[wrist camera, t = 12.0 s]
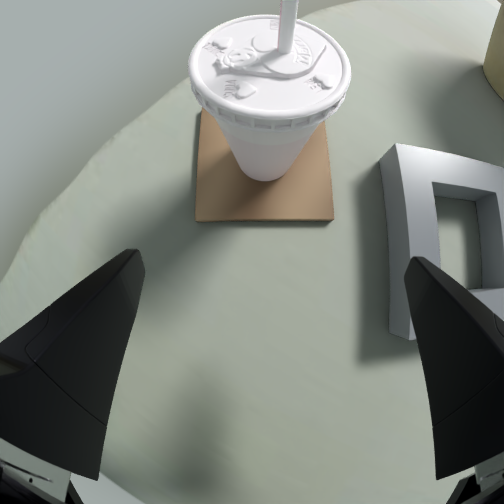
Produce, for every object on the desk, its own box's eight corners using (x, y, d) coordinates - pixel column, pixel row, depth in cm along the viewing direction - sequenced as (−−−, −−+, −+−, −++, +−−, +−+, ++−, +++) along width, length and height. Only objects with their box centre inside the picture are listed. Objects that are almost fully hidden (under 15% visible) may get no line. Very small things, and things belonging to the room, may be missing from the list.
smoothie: (325, 185, 18) (434, 24, 4) (233, 214, 18) (174, 43, 4) (291, 109, 18) (321, -62, 5) (206, 132, 18) (148, -42, 4)
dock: (388, 332, 17) (409, 340, 14) (378, 160, 19) (395, 143, 16) (496, 313, 17) (518, 315, 14) (485, 178, 18) (505, 168, 15)
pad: (196, 221, 18) (195, 220, 18) (203, 109, 19) (202, 105, 19) (331, 221, 18) (334, 219, 18) (320, 109, 19) (321, 104, 18)
